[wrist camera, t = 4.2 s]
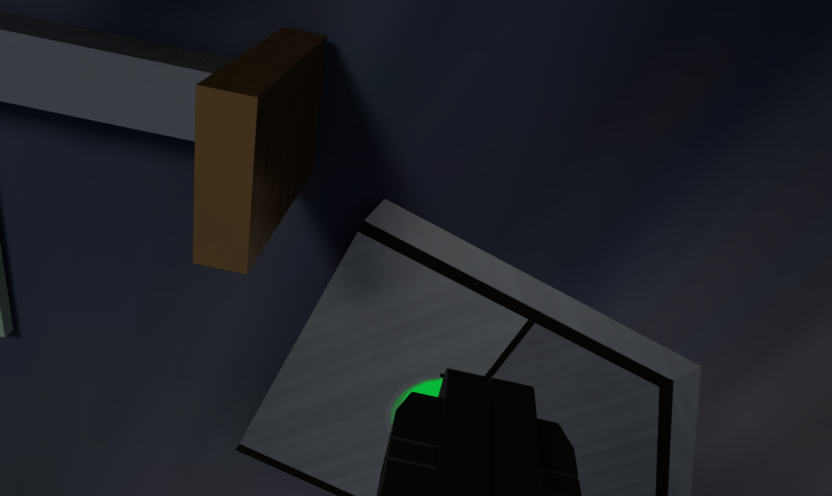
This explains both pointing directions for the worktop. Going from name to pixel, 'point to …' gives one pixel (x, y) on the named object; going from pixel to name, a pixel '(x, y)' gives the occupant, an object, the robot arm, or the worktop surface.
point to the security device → (469, 366)
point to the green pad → (4, 303)
